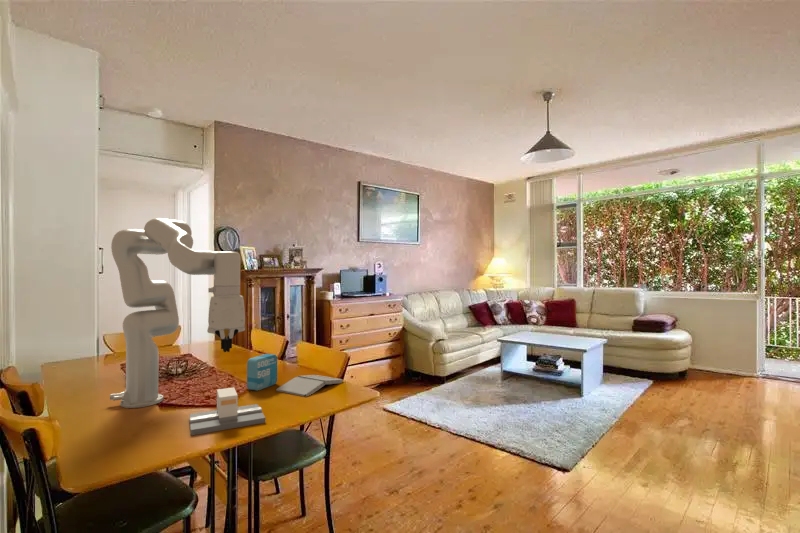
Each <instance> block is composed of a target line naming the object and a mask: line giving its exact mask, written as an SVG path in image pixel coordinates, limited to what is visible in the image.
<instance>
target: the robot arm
mask: <svg viewBox="0 0 800 533" xmlns="http://www.w3.org/2000/svg"><path fill="white" fill-rule="evenodd" d="M193 246H194V239H193V236H192V229H191V227H190V225H189V224H188V223H186V222H185V221H183V220H178V219H172V218H171V219H169V218H162V217H156V218H152V219H150V220H148V221H147V222H146V223H145V224H144V227H143V229H139V228H138V229H137V228H133V229H132V228H127V229H122V230H119V231H117V232H115V234H114V235H113V237H112V240H111V246H110V248H111V253H112V254H111V255H112V257H113V260H114V262H115V264H116V267H117V269H118V270H117V271H118V273H119V280H120V286H121V291H122V299H123V300H124V301H123V302H124V304H125V306H127V307H129V308H136V309H137V308H138V309H139V308H150V307H151V308H152V307H153V308H155V309H149V310H138V311H134V312H130V313H128V315H126V316H125V317H124V319H123V321H122V331H123V336H124V340H125V341H124V342H125V390H124V391H121V392H119V393H118V392H117V393H115V392H114V393H111V394H109V400H110V401H114V402H115V401H119V400H121V401H120V403H119V406H120V407H122V408H124V409H137V408H145V407H150V406H152V405H156V404H159V403H160V402H163V400H164V395H163V394H161V393H159V371H160V370H159V367H160V366H159V364H160V363H159V358H160V357H159V355H160V354H159V347H158V345H157V343H156V342H155V341H154V340H153V338H155V337H156V338H157V337H162V336H167V335H172V334H174V333H175V332H176V331H177V330H178V328H179V325H180V324H179V323H180V318H179V317H180V316H179V312H178V308H177V307H178V306H177V303H176V302H177V300H176V297H175V296H176V295H175V291H174V288H173V287H172V285H171V284H170V283H169V282H168V281H166V280H162V279H161V280H160V279H158V280H157V279H155V280H153V279H150V278H151V277H150V276H149V269H148V266H147V264H146V263H145V262H144V261H143V260H142V258H140V257H139V254H140V255H155V256H156V255H166V254H167V257H168V260H169V262H170V263H171V265H172V266H174V267H175V268H176V269H178V270H179V271H181V272H182V273H184V274H187V275H191V276H193V275H194V276H200V275H202V276H203V275H204V276H206V275H207V276H211V275H212V276H213V287H209V288H208V293H211V294H213V295H212V296H210V301H209V308H208V319H207V320H208V325H207V326H208V327H207V333H208V334H213V335H216V336H218V337H219V339H220V349H221V350H222V352H223V353H226V352H227V353H230V350H231V349H233V338H234V336H236V335H237V334H238V333H241V332H244V331H246V326H245V324H246V312H245V311H246V309H245V300H244V295H241V263H242V262H241V261H242V260H241V254H240V253H239V252H238V251H231V250H230V251H229V250H228V251H227V250H226V251H215V250H201V249H200V250H199V249H198V250H197V249H196V250H194V249H192V248H193ZM225 330H228V334H227V335H226V334H225Z"/></svg>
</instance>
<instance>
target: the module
mask: <svg viewBox="0 0 800 533" xmlns="http://www.w3.org/2000/svg"><path fill="white" fill-rule="evenodd" d="M238 399H239V398H238V393H237V390H236V389H235V386H234V387H227V388H218V389H216V410H217V413H218V415H219V422H224V421H230V420H236V419H237V417H238V407H239V405H238V402H239V400H238Z"/></svg>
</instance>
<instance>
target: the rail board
mask: <svg viewBox="0 0 800 533" xmlns="http://www.w3.org/2000/svg"><path fill="white" fill-rule="evenodd" d="M265 423H266V416H265V415H264V412H263V408H262V407H261V406H259V404H258V403H255V404H247V405H241V406H238V417H237V419H236V420H230V421H224V422H219V415H218V413H217V409H213V410H208V411H203V412H202V411H201V412H195V413H189V429H190V436H196V435H201V434H207V433H213V432H218V431H224V430H230V429H236V428H241V427H243V428H244V427H248V426H253V425H254V426H255V425H258V424H265Z"/></svg>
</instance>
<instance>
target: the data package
mask: <svg viewBox="0 0 800 533" xmlns="http://www.w3.org/2000/svg"><path fill="white" fill-rule="evenodd" d="M277 382H278V356H277V355H276V354H272V353H264V354H261V355H257V356H254V357H250V358H249V359H247V362H246V388H247V389H248V390H250V391H257V392H259V391H260V390H263V389H266V388H269V387H272V386H274V385H276V384H277ZM258 390H259V391H258Z"/></svg>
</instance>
